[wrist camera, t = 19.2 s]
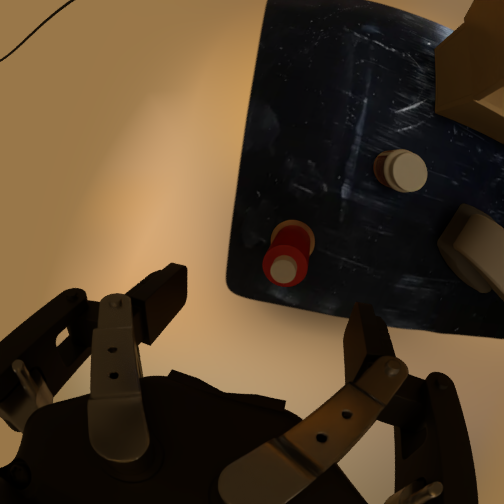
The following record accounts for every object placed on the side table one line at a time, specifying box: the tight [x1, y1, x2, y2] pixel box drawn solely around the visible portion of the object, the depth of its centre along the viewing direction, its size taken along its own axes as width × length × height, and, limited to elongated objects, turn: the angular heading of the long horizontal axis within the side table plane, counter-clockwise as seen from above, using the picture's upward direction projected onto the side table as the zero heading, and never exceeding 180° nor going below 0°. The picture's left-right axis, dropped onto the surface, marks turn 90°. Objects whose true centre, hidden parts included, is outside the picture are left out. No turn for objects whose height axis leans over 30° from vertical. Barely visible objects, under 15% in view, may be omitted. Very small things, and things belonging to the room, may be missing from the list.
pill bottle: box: [374, 149, 427, 192], centre depth 26 cm, size 5×5×8 cm
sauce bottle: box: [263, 225, 311, 287], centre depth 32 cm, size 5×5×10 cm
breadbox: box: [434, 22, 504, 144], centre depth 17 cm, size 17×11×11 cm, turn 84°
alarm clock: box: [437, 203, 504, 301], centre depth 22 cm, size 16×10×18 cm, turn 61°
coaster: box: [271, 220, 315, 256], centre depth 37 cm, size 6×6×1 cm
